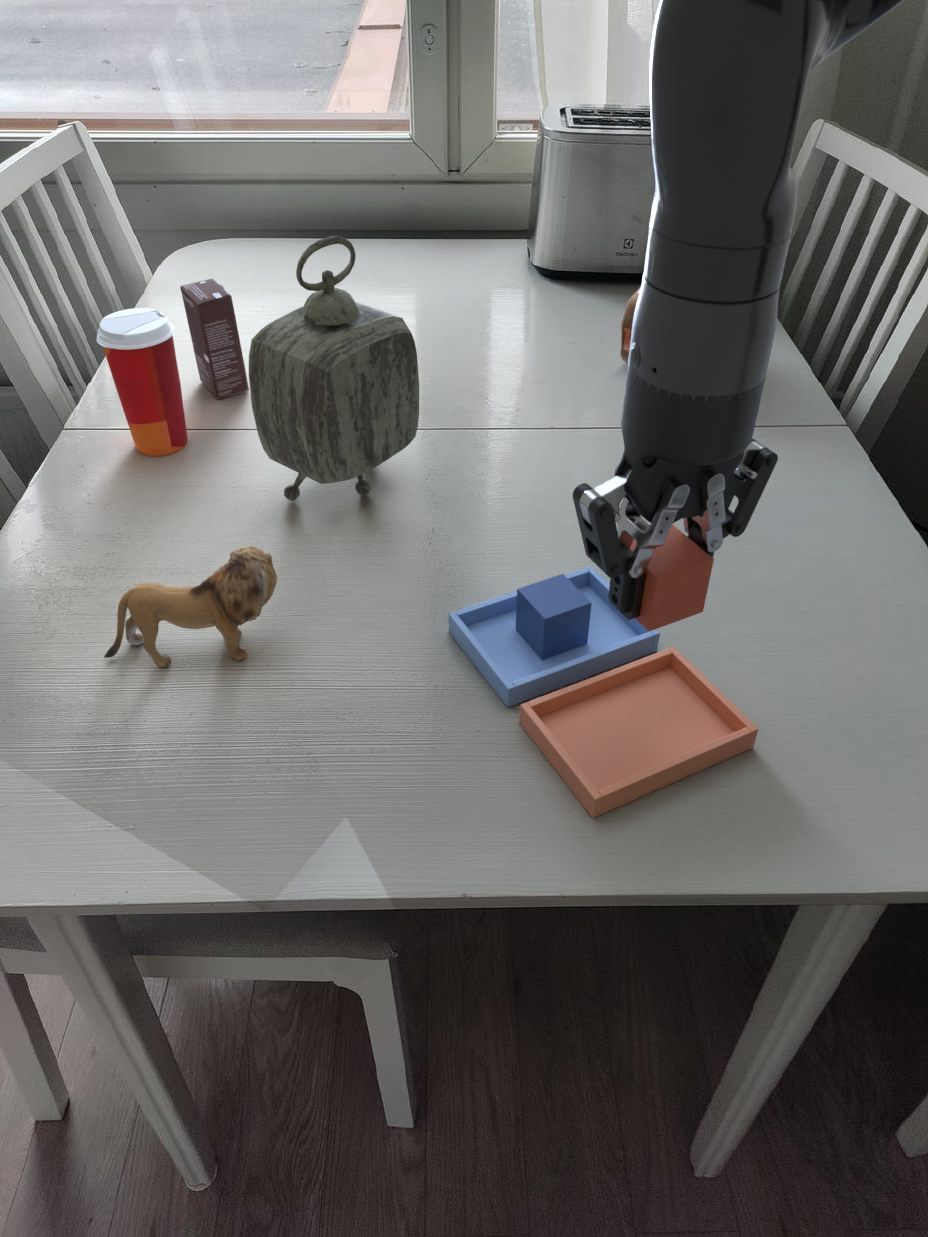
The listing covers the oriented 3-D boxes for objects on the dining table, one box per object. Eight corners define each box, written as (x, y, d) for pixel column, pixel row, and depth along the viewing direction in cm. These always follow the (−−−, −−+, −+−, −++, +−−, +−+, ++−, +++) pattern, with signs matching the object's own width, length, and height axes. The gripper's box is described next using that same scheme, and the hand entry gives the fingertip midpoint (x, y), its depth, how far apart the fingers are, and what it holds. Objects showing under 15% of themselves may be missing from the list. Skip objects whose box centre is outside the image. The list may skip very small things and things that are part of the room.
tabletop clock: (367, 445, 105) (349, 208, 89) (429, 473, 100) (422, 229, 84) (266, 502, 96) (227, 250, 80) (329, 535, 92) (301, 276, 76)
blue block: (559, 613, 82) (562, 573, 79) (587, 644, 79) (592, 602, 76) (515, 629, 81) (516, 588, 78) (541, 660, 78) (544, 619, 75)
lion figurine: (283, 614, 83) (269, 528, 77) (289, 654, 79) (275, 567, 73) (106, 642, 80) (78, 555, 74) (104, 685, 76) (75, 597, 70)
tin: (636, 376, 118) (644, 309, 112) (612, 371, 119) (619, 305, 113) (672, 330, 128) (681, 267, 123) (649, 326, 129) (657, 263, 124)
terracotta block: (663, 576, 66) (672, 523, 63) (703, 612, 63) (714, 558, 60) (610, 594, 65) (616, 541, 62) (648, 632, 62) (657, 578, 59)
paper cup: (179, 419, 110) (153, 299, 101) (209, 445, 105) (185, 322, 96) (113, 440, 106) (80, 318, 97) (142, 469, 101) (110, 343, 92)
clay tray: (670, 664, 78) (673, 646, 77) (753, 747, 71) (759, 728, 70) (519, 722, 73) (519, 704, 72) (592, 818, 66) (595, 799, 65)
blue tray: (589, 583, 86) (591, 566, 85) (657, 651, 79) (660, 633, 78) (448, 631, 81) (448, 613, 80) (507, 707, 74) (508, 689, 73)
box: (197, 382, 117) (178, 284, 109) (232, 373, 119) (216, 276, 111) (214, 401, 113) (195, 302, 105) (250, 392, 115) (234, 293, 107)
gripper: (629, 417, 48) (598, 668, 59) (844, 359, 53) (778, 601, 64) (550, 358, 53) (535, 600, 64) (753, 311, 58) (707, 542, 69)
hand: (657, 599), depth 64 cm, fingers closed on terracotta block, 4 cm apart
